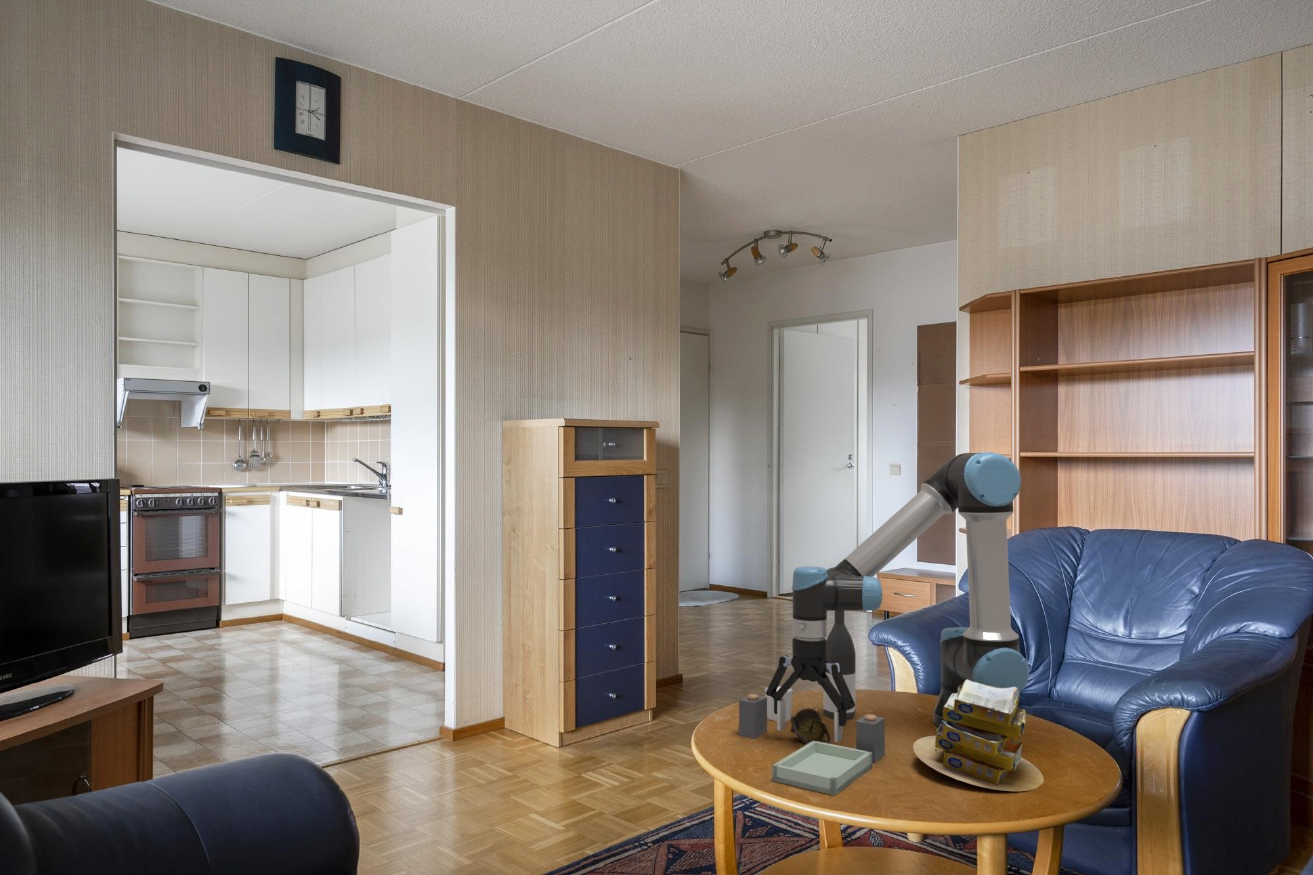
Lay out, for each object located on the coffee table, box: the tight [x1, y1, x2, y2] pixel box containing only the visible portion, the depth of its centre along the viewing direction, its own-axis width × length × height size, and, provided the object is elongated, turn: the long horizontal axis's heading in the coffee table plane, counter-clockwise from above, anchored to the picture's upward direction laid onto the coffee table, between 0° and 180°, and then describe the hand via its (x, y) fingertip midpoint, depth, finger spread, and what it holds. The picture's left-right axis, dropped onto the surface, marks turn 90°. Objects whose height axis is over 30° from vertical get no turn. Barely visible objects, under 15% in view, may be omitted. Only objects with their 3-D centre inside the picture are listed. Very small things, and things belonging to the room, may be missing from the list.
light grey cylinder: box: [764, 685, 794, 722], centre depth 214 cm, size 7×7×7 cm
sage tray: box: [771, 741, 873, 796], centre depth 175 cm, size 13×19×3 cm
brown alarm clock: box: [789, 707, 832, 745], centre depth 193 cm, size 7×13×10 cm
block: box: [855, 713, 886, 765], centre depth 185 cm, size 4×6×9 cm, turn 145°
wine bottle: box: [822, 610, 857, 720], centre depth 217 cm, size 8×8×30 cm
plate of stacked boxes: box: [912, 679, 1045, 792], centre depth 178 cm, size 25×25×17 cm
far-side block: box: [738, 693, 768, 739], centre depth 201 cm, size 4×6×9 cm, turn 145°
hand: (809, 734), depth 193 cm, fingers open, 13 cm apart
